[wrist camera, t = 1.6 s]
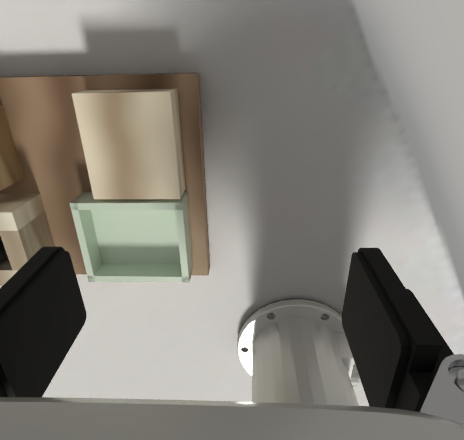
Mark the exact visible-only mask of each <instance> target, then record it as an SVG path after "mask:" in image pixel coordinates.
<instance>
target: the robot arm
mask: <svg viewBox="0 0 464 440" xmlns="http://www.w3.org/2000/svg"><path fill="white" fill-rule="evenodd" d="M85 320H86V310H85V307H84V303H83V300H82V296H81V292H80V289H79V285H78V282H77V278H76V274H75V271H74V267H73V263H72V260H71V256H70V253H69V252H68V251H65V249H64V248H63V247H51V246H45V247H42V248H41V249H40V250H38V251H37V252H36V253H35V254H34V255H33V256H32V257H31V258H30V259H29V260H28V261H27V262H26V263H25V264H24V265H23V266H22V267H21V268H20V269H19V270H18V271H17V272H16V273H15V274H14V275H13V276H12V277H11V278H10V279H9V280H8V281H7V282H6V283H5V284H4V285H3V286H2V287H1V288H0V440H464V355H462V354H458V355H454V354H453V352H452V351H451V349H450V348H449V346H448V345H447V343H446V342H445V340H444V339H443V337H442V336H441V334H440V333H439V331H438V330H437V329H436V327H435V326H434V324H433V323H432V321H431V320H430V318H429V317H428V315H427V314H426V312H425V311H424V309H423V308H422V306H421V305H420V303H419V302H418V300H417V299H416V297H415V296H414V294H413V293H412V292H411V291H410V290H409V289H405V287H404V286H403V284H402V283H401V281H400V279H399V278H398V276H397V275H396V273H395V272H394V270H393V269H392V267H391V266H390V264H389V263H388V261H387V260H386V258H385V256H384V255H383V253H382V252H381V250H380V249H379V248H360V249H359V250H358V252H354V253H353V254H352V258H351V264H350V270H349V276H348V282H347V287H346V293H345V299H344V305H343V311H342V316H341V315H340V314H339V313H337V312H336V311H335V310H334V309H332V308H330V307H328V306H326V305H324V304H321V303H318V302H315V301H310V300H303V299H291V300H284V301H279V302H275V303H272V304H269V305H267V306H265V307H263V308H261V309H259V310H258V311H256V312H255V313H254V314H252V315H251V316H250V317H249V318H248V319H247V320H246V322H245V323H244V325H243V326H242V328H241V330H240V333H239V337H238V356H239V358H240V361H241V363H242V365H243V367H244V368H245V370H246V371H247V372H248V373H249V374H250V375H251V376H252V402H232V401H193V400H150V399H103V398H45V397H42V396H43V394H44V392H45V391H46V389H47V387H48V385H49V384H50V382H51V380H52V378H53V377H54V375H55V373H56V372H57V370H58V368H59V366H60V365H61V363H62V361H63V360H64V358H65V356H66V354H67V353H68V351H69V349H70V348H71V346H72V344H73V342H74V341H75V339H76V337H77V335H78V334H79V332H80V330H81V329H82V327H83V325H84V323H85ZM358 382H362V385H363V388H364V391H365V394H366V397H367V400H368V403H369V406H370V407H369V406H359V405H358V402H357V399H356V396H355V393H354V389H353V386H357V384H358Z"/></svg>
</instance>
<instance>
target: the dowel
mask: <svg viewBox="0 0 464 440" xmlns="http://www.w3.org/2000/svg"><path fill="white" fill-rule="evenodd" d="M6 255H7V253H6V250H5V247H4V244H3V242H2V239H1V236H0V260H2V259H3V258H4V257H5V256H6Z"/></svg>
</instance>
